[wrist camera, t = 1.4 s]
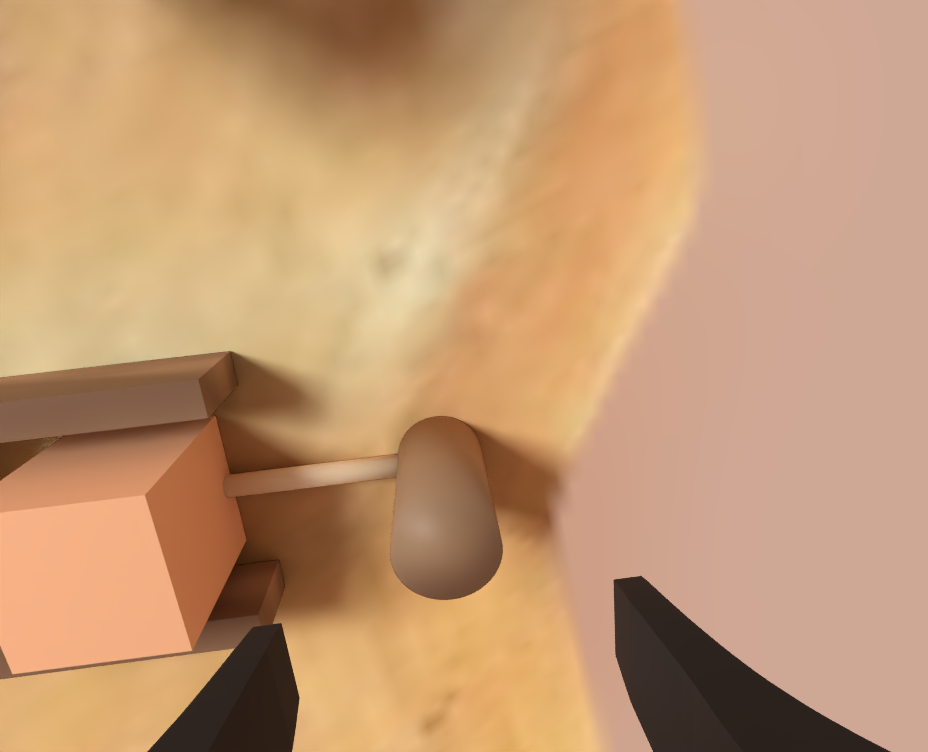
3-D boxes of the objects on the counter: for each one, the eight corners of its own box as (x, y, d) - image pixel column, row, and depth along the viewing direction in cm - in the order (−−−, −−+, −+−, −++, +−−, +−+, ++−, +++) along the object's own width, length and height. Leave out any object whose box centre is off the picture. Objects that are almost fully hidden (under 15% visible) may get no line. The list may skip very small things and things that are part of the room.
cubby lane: (284, 586, 23) (265, 643, 20) (13, 621, 22) (-46, 685, 20) (230, 351, 20) (198, 379, 17) (-84, 387, 19) (-171, 422, 17)
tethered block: (487, 510, 22) (509, 621, 17) (109, 556, 22) (0, 688, 16) (474, 384, 21) (494, 461, 15) (68, 432, 20) (-70, 530, 15)
